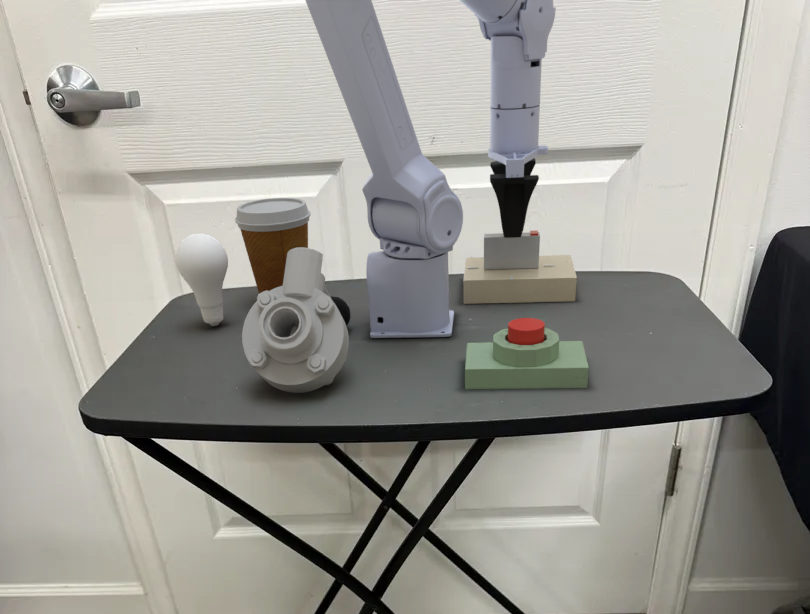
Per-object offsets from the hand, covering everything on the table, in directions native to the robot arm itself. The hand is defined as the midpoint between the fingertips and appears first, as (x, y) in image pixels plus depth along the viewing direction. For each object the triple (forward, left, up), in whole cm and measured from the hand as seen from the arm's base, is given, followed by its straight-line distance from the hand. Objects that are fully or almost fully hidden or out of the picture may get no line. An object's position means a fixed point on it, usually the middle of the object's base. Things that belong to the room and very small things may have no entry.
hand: (512, 228), depth 97 cm
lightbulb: (-37, -11, -8) cm, 39 cm away
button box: (+1, -28, -8) cm, 29 cm away
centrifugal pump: (-22, -23, -8) cm, 33 cm away
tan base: (+1, 0, -8) cm, 8 cm away
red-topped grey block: (0, 0, -5) cm, 5 cm away
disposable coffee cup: (-30, -2, -8) cm, 31 cm away
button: (+1, -28, -4) cm, 28 cm away
